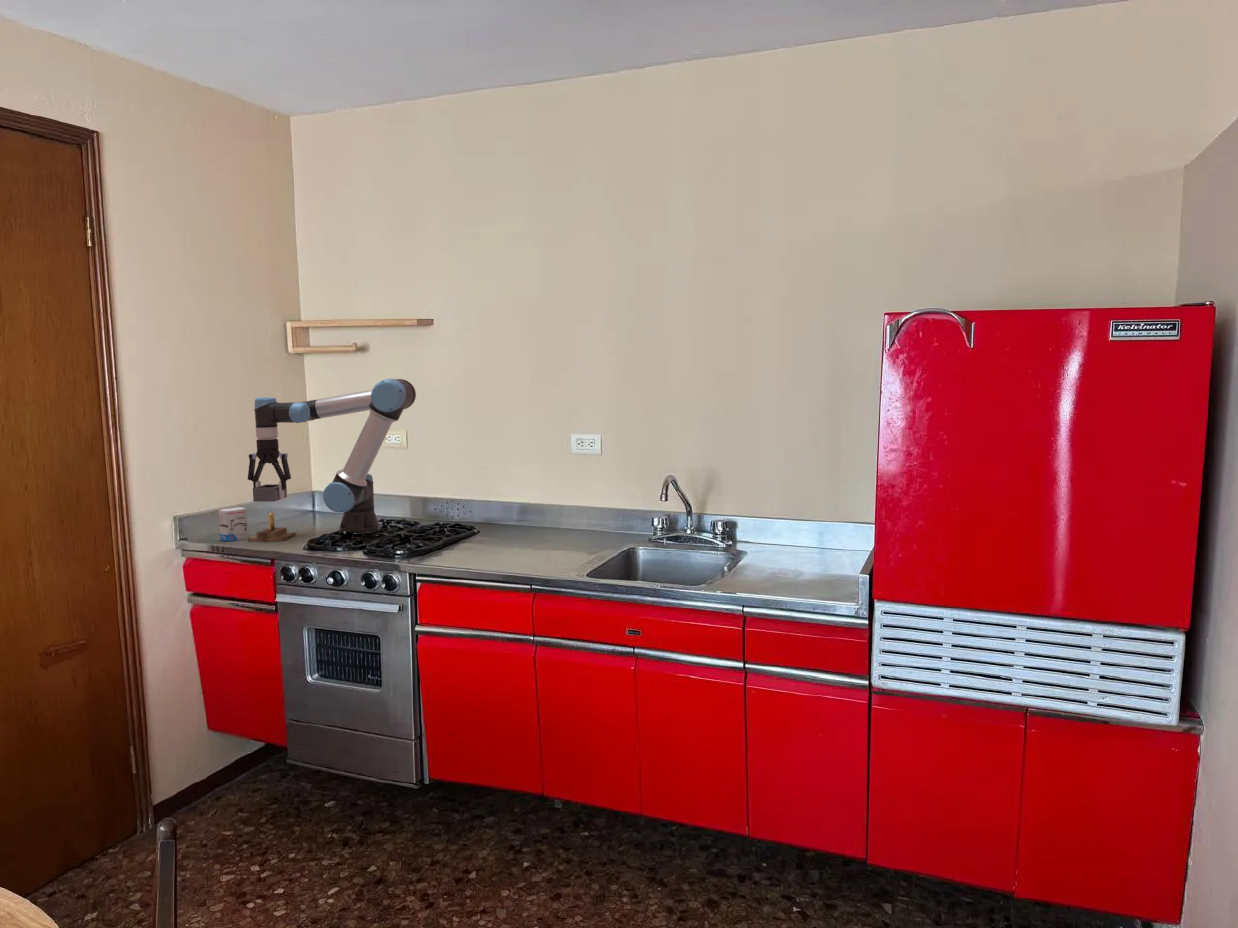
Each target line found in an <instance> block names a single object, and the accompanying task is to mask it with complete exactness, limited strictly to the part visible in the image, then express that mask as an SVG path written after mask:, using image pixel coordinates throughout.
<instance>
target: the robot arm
mask: <svg viewBox="0 0 1238 928" xmlns="http://www.w3.org/2000/svg"><path fill="white" fill-rule="evenodd" d="M416 398H417V392H416V389H415V387H414V385H413V384H412V383H411V382H410V381H408V380H406V379H402V378H387V379H386V378H385V379H383V380H381V381H378V382H377V383H376V384H375V385H374V386H373V388H372V389H368V390H362V391H357V392H352V393H347V394H341V395H335V396H328V397H323V398H317V399H311V400H307V401H305V400H304V401H294V402H291V401H290V402H277V399H276V397H271V396H269V397H267V396H266V397H265V396H264V397H256V398H255V399H254V409H253V410H254V417H255V437H256V452H255V453H250V454H248V459H249V465H248V474H247V480H248V481H251V482H252V483H253V484H252V485H253V487H252V489H253V488H255V487H259V486H262V483H261V480H260V477H261V475H262V472H263V469H264V467H265V465H266V464H271V465H272V466H273V468H274V470H275V472H276V475H277V476H278V478H279V480H280V481H278V484H279V495H280V499H281V500H283V499H286V498H285V497H284V490H286V486H287V481H288V480H291V479H292V477H291V471H290V467H289V463H288V456H289V455H288V453H285V452H284V453H282V452H280V451H279V447H280V445H279V439H278V437H279V432H278V431H279V430H278V424H280V423H285V424H286V423H287V424H288V423H290V424H293V423H294V424H301V423H302V424H303V423H306V422H310V421H315V420H319V419H320V420H321V419H324V418H325V419H326V418H331V417H337V416H343V415H349V414H354V413H355V414H356V413H359V412H365V411H366V412H367V411H369V415H368V417H367V418H366V421H365V423H364V425H363V428H362V429H361V431H360V433H359V436H358V438H357V440H356V442H355V443H354V446H353V448H352V450H351V452H350V454H349V457H348V459H347V461H346V463H345V465H344V467H343V468H342V469H339V470H337V471H336V474H335V476H334V478H333V480H332V482H330V483H328V484H327V486H326V487H325V488H324V490H323V493H322V498H323V501H324V504H325V506H326V507H327V509H329V510H330V511H332V512H334V513H339V514H343V515H342V518H341V521H340V524H339V533H340V532H341V531H347V532H354V533H366V532H372V531H378V532H380V531H381V524H380V522H379V520H378V516H377V514H376V512H375V497H374V495H375V494H374V491H375V490H374V481H373V480H374V479H373V475H372V474H370V473H369V472H370V470H371V467H372V465H373V463H374V462H375V459H376V458H377V455H378V453H379V452H380V449H381V447H382V445H383V442H384V441H385V438H386V436H387V435H388V433H389V431H390V428H391V426H392V424H393V423H395V422H398V421H399V419H400V417H401V416H402V414H403V411H404V410H406V409H409V408H410V407H412V405H413V404H414V403H415V401H416ZM257 458H258V459H259V461H258V463H257V467H256V461H257ZM278 458H279V459H280V460H281V465H282V468H281V465H280V461H279V460H278ZM282 469H283V470H282ZM379 530H380V531H379Z"/></svg>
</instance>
